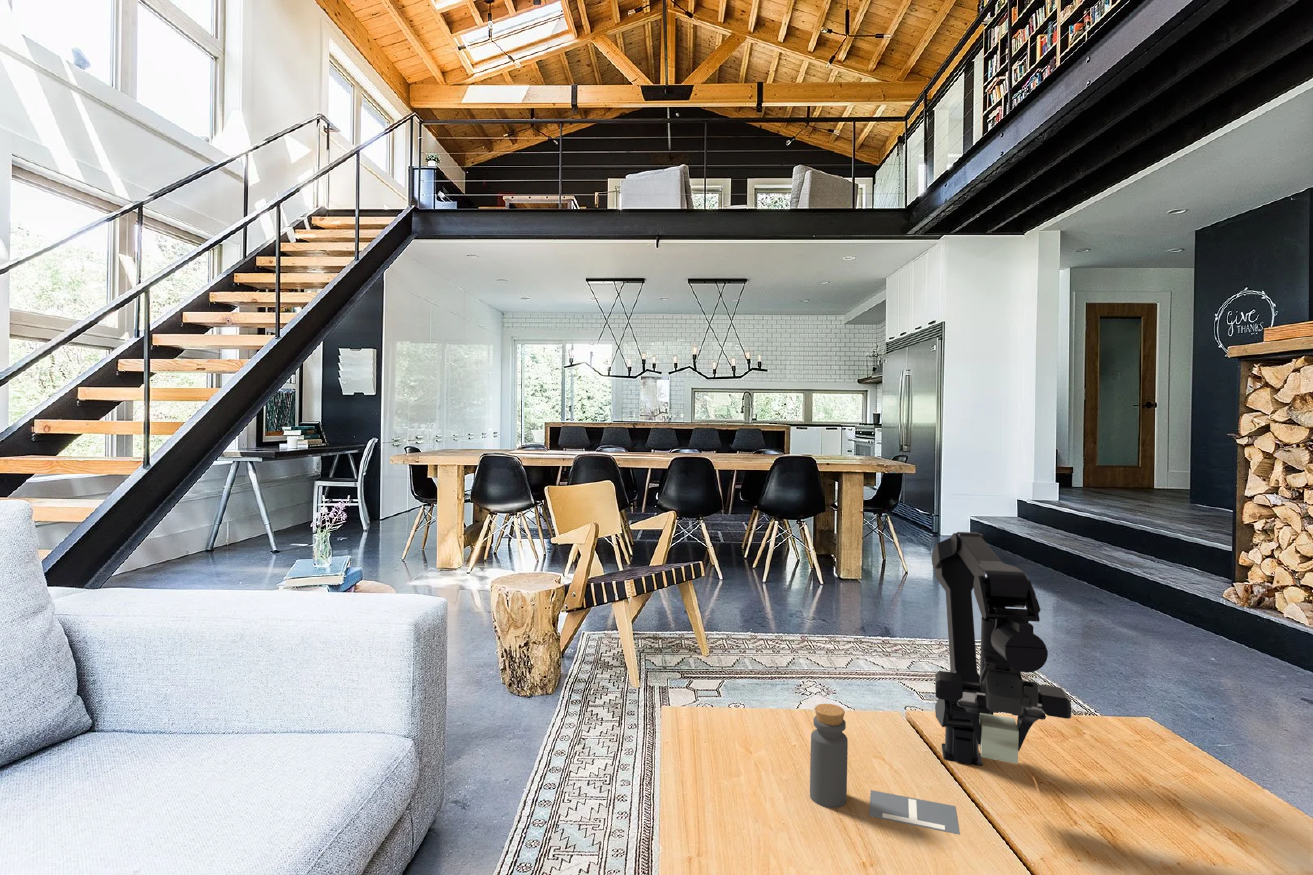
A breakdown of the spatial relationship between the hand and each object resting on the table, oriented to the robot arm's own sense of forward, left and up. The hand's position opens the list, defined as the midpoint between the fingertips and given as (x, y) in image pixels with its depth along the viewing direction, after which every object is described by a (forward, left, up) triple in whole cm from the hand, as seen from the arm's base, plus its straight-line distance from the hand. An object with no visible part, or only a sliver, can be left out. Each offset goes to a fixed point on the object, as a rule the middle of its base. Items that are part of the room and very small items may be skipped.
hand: (998, 746), depth 106 cm
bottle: (+6, -25, -11) cm, 28 cm away
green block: (0, 0, -1) cm, 1 cm away
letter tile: (+5, -12, -11) cm, 17 cm away
